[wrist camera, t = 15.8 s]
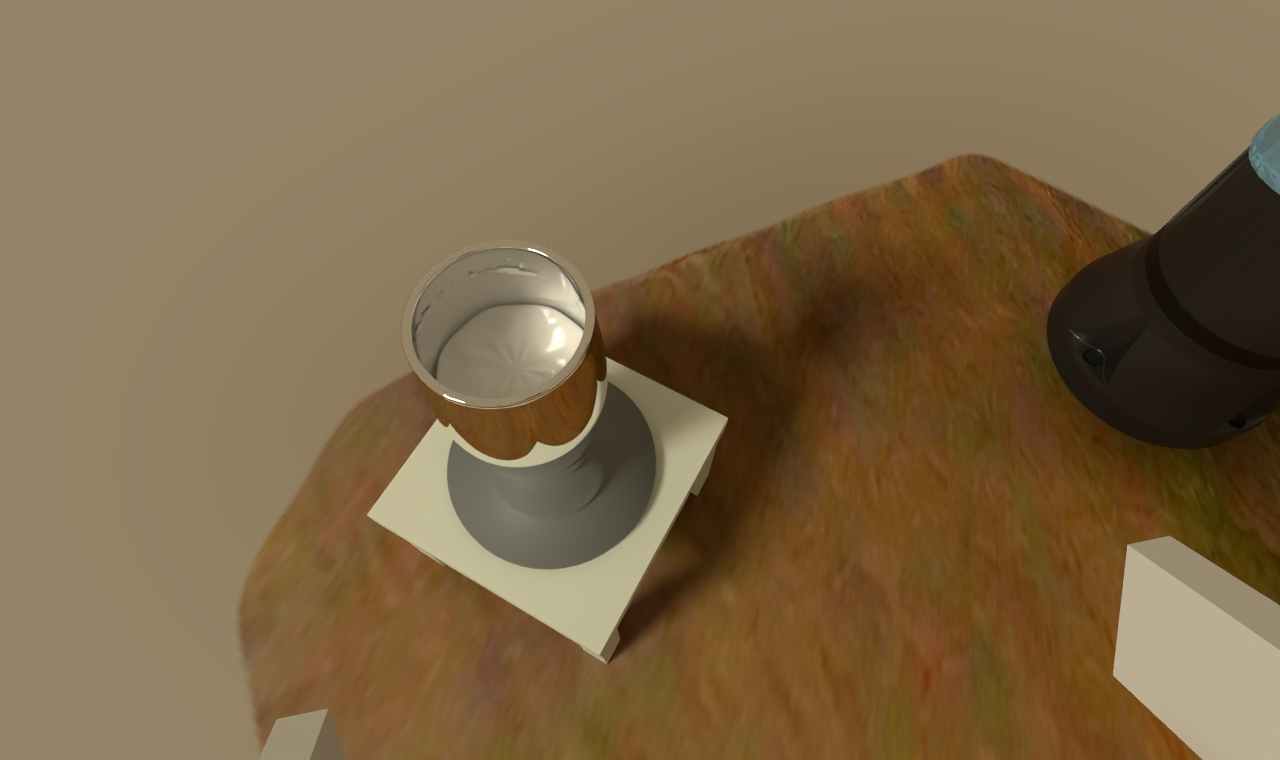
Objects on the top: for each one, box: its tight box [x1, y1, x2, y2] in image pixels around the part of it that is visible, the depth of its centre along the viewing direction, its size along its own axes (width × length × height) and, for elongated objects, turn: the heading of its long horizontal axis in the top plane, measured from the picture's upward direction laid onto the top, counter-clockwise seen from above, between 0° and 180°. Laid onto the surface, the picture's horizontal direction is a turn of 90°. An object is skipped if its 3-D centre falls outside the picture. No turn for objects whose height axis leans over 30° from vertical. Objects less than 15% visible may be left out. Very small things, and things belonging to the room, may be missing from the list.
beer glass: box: [401, 240, 608, 519], centre depth 31 cm, size 7×7×15 cm
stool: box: [367, 357, 728, 664], centre depth 42 cm, size 14×14×11 cm
